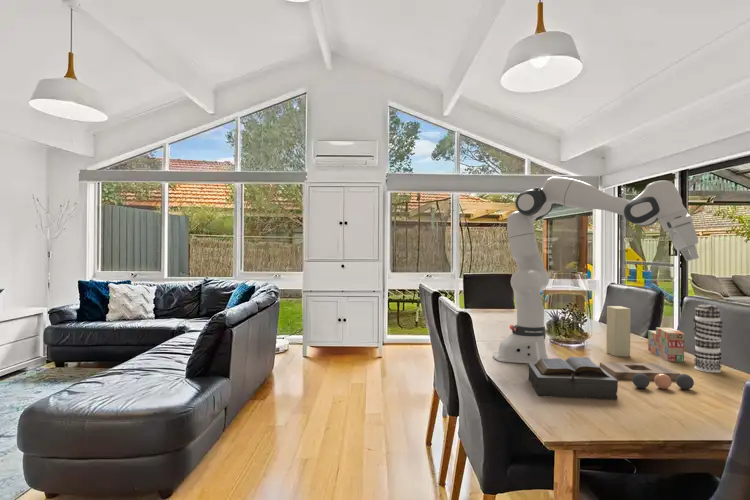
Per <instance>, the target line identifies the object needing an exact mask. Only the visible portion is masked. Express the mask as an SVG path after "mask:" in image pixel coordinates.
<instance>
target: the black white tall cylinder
mask: <svg viewBox="0 0 750 500" xmlns="http://www.w3.org/2000/svg"><path fill="white" fill-rule="evenodd" d="M694 309H695V316H694V318H693V319H692V321H693V322H694V323H693V331H695V332H694V333H693V336H694V339H695V346H694V347H695V349H694V351H693V353H694V357H695V358H694V359H693V361H694V363H693V365H694V370H697V371H699V372H704V373H705V372H706V373H714V372H715V373H717V374H718V373H722V370H721V369H722V361H721V360H722V357H721V356H722V353H721V347H720V346H721V342H722V339H721V338H722V333H723V331H722V330H721V329H722V328H723V325H722V324H723V321H722V320H721V309H719V308H718V306H717V305H714V304H697V306H696V307H695V308H694Z"/></svg>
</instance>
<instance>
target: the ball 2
mask: <svg viewBox="0 0 750 500" xmlns="http://www.w3.org/2000/svg"><path fill="white" fill-rule="evenodd" d="M675 383H676V385H677V387H679V388H680V389H682V390H691V389H692V388H693V387H694V384H695V381H694V379H693V377H692V376H691V375H689V374H687V373H680V375H678V376H677V378H676V380H675Z"/></svg>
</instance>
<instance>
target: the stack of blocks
mask: <svg viewBox="0 0 750 500" xmlns="http://www.w3.org/2000/svg"><path fill="white" fill-rule="evenodd" d="M647 346H648V351H649V352H651V353H652V354H654V355H656V356H658V357H659V358H661V359H662V360H664V361H667V362H673V363H674V362H675V363H678V362H679V363H684V362H685V333H684V332H682V331H680V330H678V329H675V328H672V327H657V326H656V327H655V330H647Z"/></svg>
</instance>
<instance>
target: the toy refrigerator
mask: <svg viewBox="0 0 750 500" xmlns="http://www.w3.org/2000/svg"><path fill="white" fill-rule="evenodd" d="M631 311H632V310H631V308H629V307H625V306H622V305H607V306H606V353H608V354H609V355H612V356H614V357H630V356H631V322H632V321H631V315H632V314H631Z"/></svg>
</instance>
